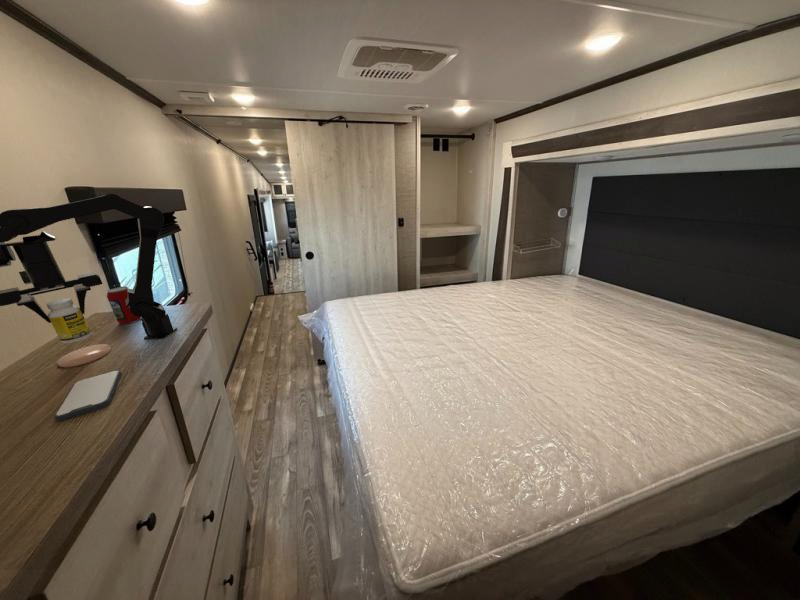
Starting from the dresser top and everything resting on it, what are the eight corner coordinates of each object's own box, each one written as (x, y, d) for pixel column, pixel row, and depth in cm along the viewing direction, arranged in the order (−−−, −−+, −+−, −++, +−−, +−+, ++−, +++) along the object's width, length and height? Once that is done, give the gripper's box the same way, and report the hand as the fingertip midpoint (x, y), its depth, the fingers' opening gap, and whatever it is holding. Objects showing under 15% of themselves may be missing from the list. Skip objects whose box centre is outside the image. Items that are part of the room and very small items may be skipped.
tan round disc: (121, 345, 94) (120, 343, 93) (86, 366, 83) (85, 363, 83) (85, 347, 94) (84, 345, 94) (46, 368, 84) (45, 365, 83)
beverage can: (117, 321, 111) (103, 290, 107) (140, 315, 116) (128, 284, 111) (120, 327, 107) (105, 293, 102) (144, 320, 111) (131, 288, 107)
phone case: (77, 387, 76) (54, 425, 63) (74, 381, 75) (50, 419, 63) (123, 373, 80) (110, 407, 67) (121, 368, 80) (107, 401, 67)
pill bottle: (77, 343, 84) (57, 305, 79) (54, 344, 84) (34, 306, 80) (98, 332, 89) (81, 296, 85) (77, 333, 90) (59, 297, 86)
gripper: (84, 250, 90) (106, 300, 96) (-18, 266, 77) (15, 323, 83) (90, 254, 83) (113, 308, 89) (-21, 272, 70) (15, 334, 76)
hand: (67, 317), depth 84 cm, fingers closed on pill bottle, 6 cm apart
